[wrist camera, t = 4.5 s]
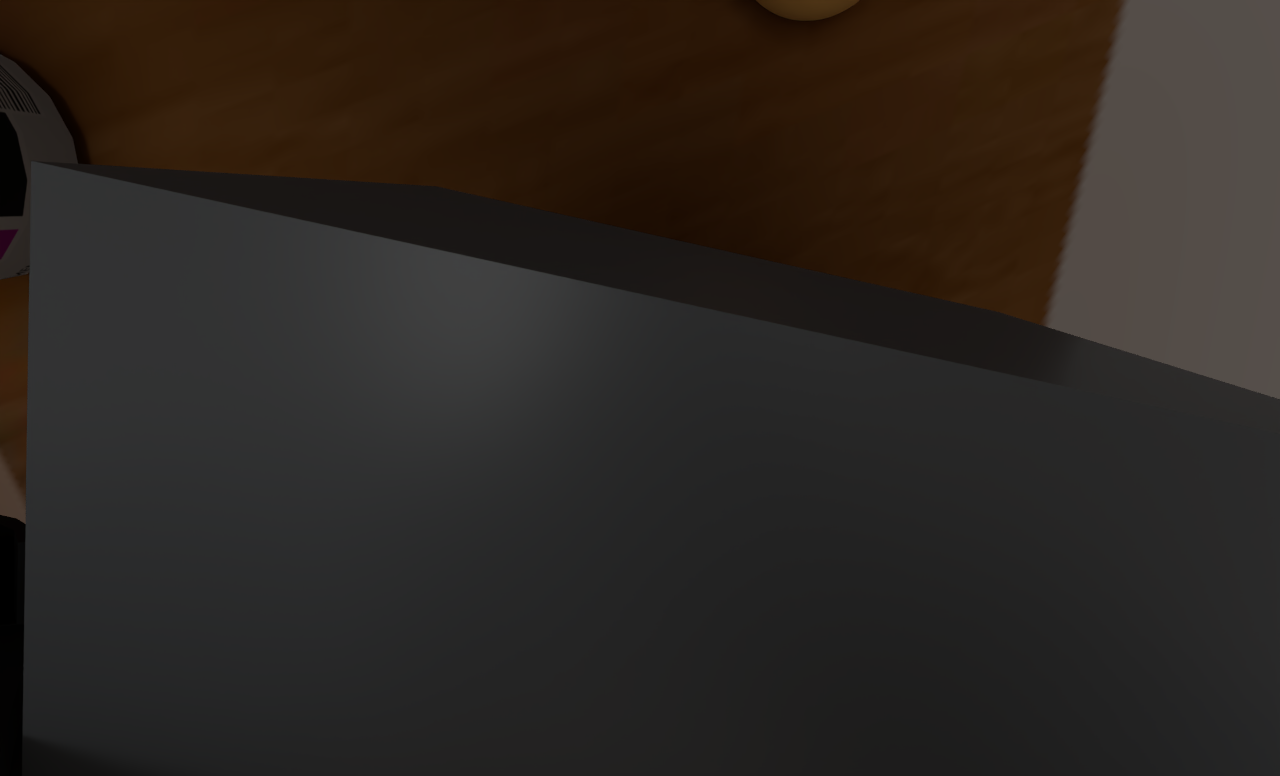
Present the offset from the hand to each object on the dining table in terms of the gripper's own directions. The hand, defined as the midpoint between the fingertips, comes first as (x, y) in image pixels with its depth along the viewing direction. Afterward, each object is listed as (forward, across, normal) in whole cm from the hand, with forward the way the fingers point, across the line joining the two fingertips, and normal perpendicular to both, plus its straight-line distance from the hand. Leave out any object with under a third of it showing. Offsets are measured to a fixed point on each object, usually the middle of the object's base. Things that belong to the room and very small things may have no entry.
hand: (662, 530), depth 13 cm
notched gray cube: (+1, 0, 0) cm, 1 cm away
